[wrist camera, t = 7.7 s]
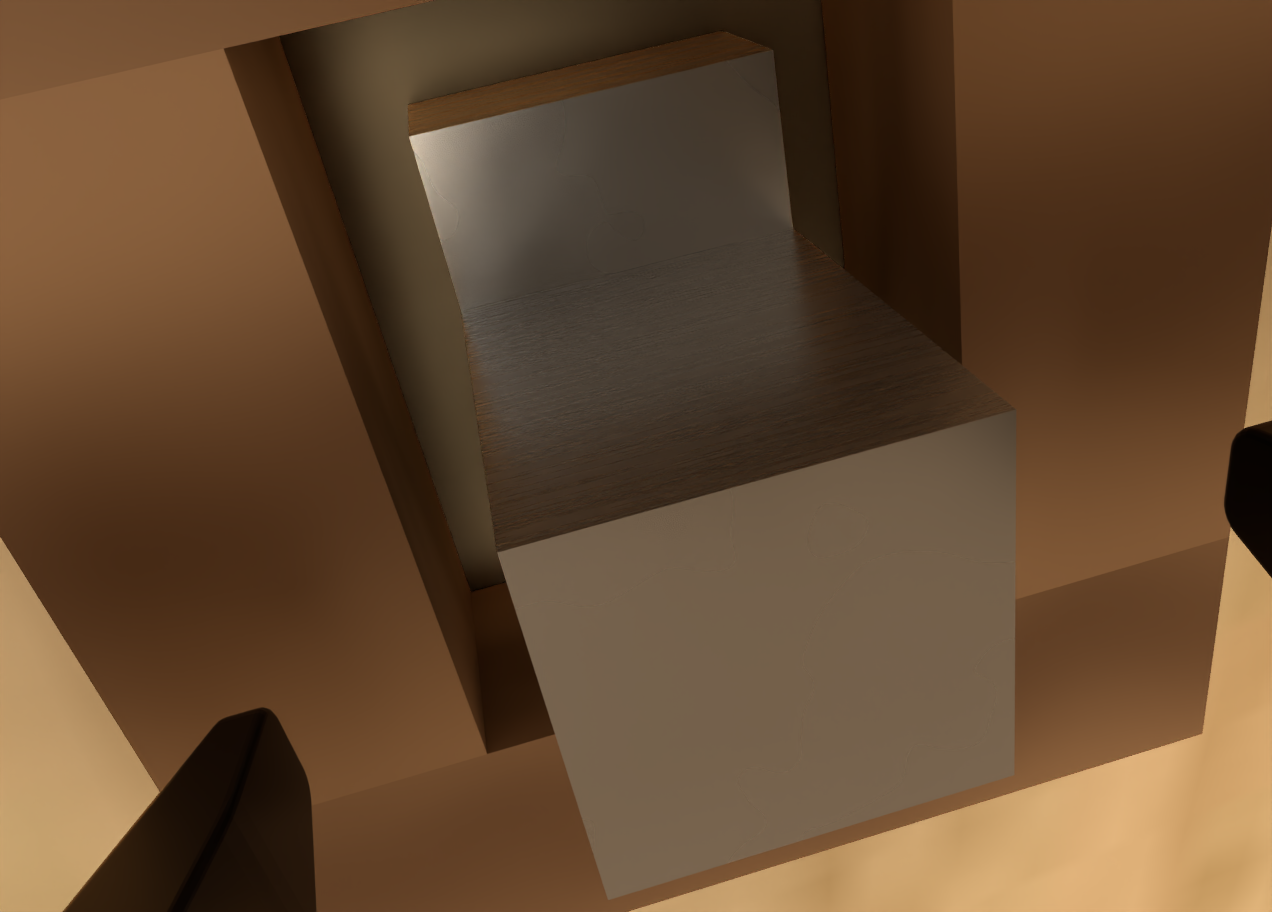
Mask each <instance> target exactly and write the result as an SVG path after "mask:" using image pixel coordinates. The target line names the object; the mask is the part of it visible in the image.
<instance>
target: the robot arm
mask: <svg viewBox="0 0 1272 912" xmlns="http://www.w3.org/2000/svg"><path fill="white" fill-rule="evenodd" d="M1224 510H1225V514H1226V517H1227V520H1228V522H1229V524H1230V526H1231V528H1232V529H1233V531H1234V532H1235V533H1236V534H1237V536H1238V537H1239V538H1240V539H1241V541H1242V542H1243V543H1244V544H1245V546H1246V547H1247V548H1248V549H1249V550H1250V552H1251V553H1252V554H1253V555H1254V557H1255V558H1256V559H1257V560H1258V562H1259V563H1260V564H1261V565H1262V566H1263V568H1264V569H1265V570H1266V571H1267V573H1268V574H1269V575H1270V576H1271V578H1272V421H1268V422H1265V423H1261V424H1258V425H1254V426H1251V427H1247V428H1244V429H1242V430H1241V431H1240V432H1238V433H1237V434H1236V436H1235V437H1234V439H1233V441H1232V444H1231V449H1230V457H1229V464H1228V472H1227V480H1226V487H1225V495H1224ZM63 912H317V908H316V887H315V865H314V844H313V823H312V802H311V792H310V786H309V782H308V778H307V775H306V772H305V770H304V768H303V766H302V764H301V762H300V760H299V758H298V756H297V754H296V752H295V750H294V748H293V746H292V745H291V743H290V741H289V739H288V737H287V735H286V733H285V731H284V729H283V727H282V725H281V723H280V721H279V719H278V718H277V716H276V715H275V714H274V713H273V712H272V711H271V709H268V708H264V707H260V708H256V709H253V710H249V711H246V712H242V713H239V714H235V715H231V716H228V717H225V718H223V719H221V720H220V721H218V722H217V723H216V724H215V725H214V726H213V728H212V729H211V730H210V731H209V732H208V734H207V735H206V736H205V737H204V739H203V740H202V741H201V742H200V744H199V745H198V746H197V747H196V748H195V750H194V751H193V752H192V753H191V755H190V756H189V757H188V758H187V760H186V761H185V762H184V763H183V764H182V766H181V767H180V768H179V769H178V771H177V772H176V773H175V774H174V775H173V777H172V778H171V779H170V780H169V782H168V783H167V784H166V785H165V787H164V788H163V789H162V790H161V791H160V793H159V794H158V795H157V796H156V798H155V799H154V800H153V801H152V803H151V804H150V805H149V806H148V807H147V809H146V810H145V811H144V812H143V814H142V815H141V816H140V817H139V819H138V820H137V821H136V822H135V823H134V825H133V826H132V827H131V828H130V830H129V831H128V832H127V833H126V834H125V836H124V837H123V838H122V839H121V841H120V842H119V843H118V844H117V846H116V847H115V848H114V849H113V850H112V852H111V853H110V854H109V855H108V857H107V858H106V859H105V860H104V862H103V863H102V864H101V865H100V866H99V868H98V869H97V870H96V871H95V873H94V874H93V875H92V876H91V878H90V879H89V880H88V881H87V882H86V884H85V885H84V886H83V887H82V889H81V890H80V891H79V892H78V893H77V895H76V896H75V897H74V898H73V900H72V901H71V902H70V903H69V905H68V906H67V907H66V908H65V909H64V911H63Z"/></svg>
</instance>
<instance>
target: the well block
mask: <svg viewBox="0 0 1272 912" xmlns="http://www.w3.org/2000/svg"><path fill="white" fill-rule="evenodd" d="M430 1H434V0H0V537H1V538H2V540H3V542H4V543H5V545H6V546H7V548H8V550H9V551H10V553H11V554H12V556H13V558H14V559H15V561H16V562H17V564H18V566H19V567H20V569H21V570H22V572H23V574H24V575H25V577H26V578H27V580H28V582H29V583H30V585H31V586H32V588H33V590H34V591H35V593H36V594H37V596H38V598H39V599H40V601H41V602H42V604H43V606H44V607H45V609H46V610H47V612H48V613H49V615H50V617H51V618H52V620H53V621H54V623H55V625H56V626H57V628H58V629H59V631H60V633H61V634H62V636H63V637H64V639H65V641H66V642H67V644H68V645H69V647H70V649H71V650H72V652H73V653H74V655H75V657H76V658H77V660H78V661H79V663H80V665H81V666H82V668H83V669H84V671H85V673H86V674H87V676H88V677H89V679H90V681H91V682H92V684H93V685H94V687H95V689H96V690H97V692H98V693H99V695H100V697H101V698H102V700H103V701H104V703H105V705H106V706H107V708H108V709H109V711H110V713H111V714H112V716H113V717H114V719H115V721H116V722H117V724H118V725H119V727H120V729H121V730H122V732H123V733H124V735H125V737H126V738H127V740H128V741H129V743H130V745H131V746H132V748H133V749H134V751H135V753H136V754H137V756H138V757H139V759H140V761H141V762H142V764H143V765H144V767H145V769H146V770H147V772H148V773H149V775H150V777H151V778H152V780H153V781H154V783H155V785H156V786H157V788H158V789H159V791H161V790H162V789H163V788H164V787H165V785H166V784H167V783H168V782H169V780H170V779H171V778H172V777H173V775H174V774H175V773H176V772H177V771H178V769H179V768H180V767H181V766H182V764H183V763H184V762H185V761H186V760H187V758H188V757H189V756H190V755H191V753H192V752H193V751H194V750H195V748H196V747H197V746H198V745H199V744H200V742H201V741H202V740H203V739H204V737H205V736H206V735H207V734H208V732H209V731H210V730H211V729H212V728H213V726H214V725H215V724H216V723H217V722H218V721H220V720H221V719H223V718H225V717H228V716H231V715H235V714H239V713H242V712H246V711H249V710H253V709H256V708H260V707H264V708H268V709H271V711H272V712H273V713H274V714H275V715H276V716H277V718H278V719H279V721H280V723H281V725H282V727H283V729H284V731H285V733H286V735H287V737H288V739H289V741H290V743H291V745H292V746H293V748H294V750H295V752H296V754H297V756H298V758H299V760H300V762H301V764H302V766H303V768H304V770H305V772H306V775H307V778H308V782H309V786H310V792H311V802H312V823H313V844H314V865H315V887H316V908H317V912H628V911H631V910H634V909H637V908H641V907H644V906H647V905H650V904H653V903H657V902H660V901H663V900H666V899H670V898H673V897H676V896H679V895H683V894H686V893H689V892H692V891H695V890H699V889H702V888H705V887H708V886H712V885H715V884H718V883H721V882H725V881H728V880H731V879H734V878H737V877H741V876H744V875H747V874H750V873H754V872H757V871H760V870H763V869H767V868H770V867H773V866H776V865H779V864H783V863H786V862H789V861H792V860H796V859H799V858H802V857H805V856H809V855H812V854H815V853H818V852H821V851H825V850H828V849H831V848H834V847H838V846H841V845H844V844H847V843H851V842H854V841H857V840H860V839H864V838H867V837H870V836H873V835H876V834H880V833H883V832H886V831H889V830H893V829H896V828H899V827H902V826H906V825H909V824H912V823H915V822H918V821H922V820H925V819H928V818H931V817H935V816H938V815H941V814H944V813H948V812H951V811H954V810H957V809H960V808H964V807H967V806H970V805H973V804H977V803H980V802H983V801H986V800H990V799H993V798H996V797H999V796H1002V795H1006V794H1009V793H1012V792H1015V791H1019V790H1022V789H1025V788H1028V787H1032V786H1035V785H1038V784H1041V783H1044V782H1048V781H1051V780H1054V779H1057V778H1061V777H1064V776H1067V775H1070V774H1074V773H1077V772H1080V771H1083V770H1086V769H1090V768H1093V767H1096V766H1099V765H1103V764H1106V763H1109V762H1112V761H1116V760H1119V759H1122V758H1125V757H1128V756H1132V755H1135V754H1138V753H1141V752H1145V751H1148V750H1151V749H1154V748H1158V747H1161V746H1164V745H1167V744H1170V743H1174V742H1177V741H1180V740H1183V739H1187V738H1190V737H1193V736H1196V735H1200V734H1202V731H1203V724H1204V716H1205V709H1206V702H1207V695H1208V687H1209V680H1210V673H1211V665H1212V658H1213V651H1214V643H1215V636H1216V629H1217V621H1218V614H1219V607H1220V599H1221V592H1222V585H1223V577H1224V570H1225V563H1226V555H1227V548H1228V541H1229V533H1230V524H1229V522H1228V520H1227V517H1226V514H1225V510H1224V495H1225V487H1226V480H1227V472H1228V464H1229V457H1230V449H1231V444H1232V441H1233V439H1234V437H1235V436H1236V434H1237V433H1238V432H1240V431H1241V430H1242V429H1244V424H1245V416H1246V409H1247V402H1248V394H1249V387H1250V380H1251V372H1252V365H1253V358H1254V350H1255V343H1256V336H1257V329H1258V321H1259V314H1260V307H1261V299H1262V292H1263V285H1264V277H1265V270H1266V263H1267V255H1268V248H1269V241H1270V233H1271V226H1272V0H821V1H822V12H823V24H824V35H825V47H826V58H827V70H828V81H829V93H830V104H831V116H832V127H833V138H834V150H835V161H836V173H837V184H838V196H839V207H840V219H841V230H842V242H843V253H844V265H845V270H846V271H847V272H848V273H849V274H850V275H852V276H853V277H854V278H855V279H857V280H858V281H859V282H860V283H862V284H863V285H864V286H865V287H866V288H868V289H869V290H870V291H871V292H873V293H874V294H875V295H876V296H877V297H879V298H880V299H881V300H882V301H884V302H885V303H886V304H887V305H889V306H890V307H891V308H892V309H893V310H895V311H896V312H897V313H898V314H900V315H901V316H902V317H903V318H905V319H906V320H907V321H908V322H909V323H911V324H912V325H913V326H914V327H916V328H917V329H918V330H919V331H920V332H922V333H923V334H924V335H925V336H927V337H928V338H929V339H930V340H932V341H933V342H934V343H935V344H936V345H938V346H939V347H940V348H941V349H943V350H944V351H945V352H946V353H948V354H949V355H950V356H951V357H952V358H954V359H955V360H956V361H957V362H959V363H960V364H961V365H962V366H964V367H965V368H966V369H967V370H968V371H970V372H971V373H972V374H973V375H975V376H976V377H977V378H978V379H979V380H981V381H982V382H983V383H984V384H986V385H987V386H988V387H989V388H991V389H992V390H993V391H994V392H995V393H997V394H998V395H999V396H1000V397H1002V398H1003V399H1004V400H1005V401H1007V402H1008V403H1009V404H1010V405H1011V406H1013V407H1014V408H1015V409H1016V566H1015V752H1014V775H1013V776H1010V777H1007V778H1003V779H1000V780H997V781H994V782H990V783H987V784H984V785H981V786H977V787H974V788H971V789H968V790H964V791H961V792H958V793H955V794H951V795H948V796H945V797H942V798H938V799H935V800H932V801H929V802H925V803H922V804H919V805H916V806H912V807H909V808H906V809H903V810H899V811H896V812H893V813H890V814H887V815H883V816H880V817H877V818H874V819H870V820H867V821H864V822H861V823H857V824H854V825H851V826H848V827H844V828H841V829H838V830H835V831H831V832H828V833H825V834H822V835H818V836H815V837H812V838H809V839H805V840H802V841H799V842H796V843H792V844H789V845H786V846H783V847H779V848H776V849H773V850H770V851H766V852H763V853H760V854H757V855H753V856H750V857H747V858H744V859H740V860H737V861H734V862H731V863H727V864H724V865H721V866H718V867H714V868H711V869H708V870H705V871H701V872H698V873H695V874H692V875H688V876H685V877H682V878H679V879H675V880H672V881H669V882H666V883H662V884H659V885H656V886H653V887H649V888H646V889H643V890H640V891H636V892H633V893H630V894H627V895H624V896H620V897H617V898H614V899H611V900H608V898H607V895H606V892H605V889H604V886H603V883H602V880H601V876H600V873H599V870H598V867H597V864H596V861H595V858H594V855H593V851H592V848H591V845H590V842H589V839H588V836H587V833H586V829H585V826H584V823H583V820H582V817H581V814H580V811H579V808H578V804H577V801H576V798H575V795H574V792H573V789H572V786H571V783H570V779H569V776H568V773H567V770H566V767H565V764H564V761H563V758H562V754H561V751H560V748H559V745H558V742H557V739H556V736H555V733H554V729H553V726H552V723H551V720H550V717H549V714H548V711H547V707H546V704H545V701H544V698H543V695H542V692H541V689H540V686H539V682H538V679H537V676H536V673H535V670H534V667H533V664H532V661H531V657H530V654H529V651H528V648H527V645H526V642H525V639H524V636H523V632H522V629H521V626H520V623H519V620H518V617H517V614H516V610H515V607H514V604H513V601H512V598H511V595H510V592H509V589H508V585H507V582H505V583H502V584H498V585H495V586H491V587H487V588H484V589H480V590H477V591H473V592H471V591H470V588H469V585H468V582H467V579H466V577H465V574H464V571H463V568H462V565H461V562H460V559H459V556H458V553H457V550H456V548H455V545H454V542H453V539H452V536H451V533H450V530H449V527H448V524H447V522H446V519H445V516H444V513H443V510H442V507H441V504H440V501H439V498H438V496H437V493H436V490H435V487H434V484H433V481H432V478H431V475H430V472H429V469H428V467H427V464H426V461H425V458H424V455H423V452H422V449H421V446H420V443H419V441H418V438H417V435H416V432H415V429H414V426H413V423H412V420H411V417H410V414H409V412H408V409H407V406H406V403H405V400H404V397H403V394H402V391H401V388H400V386H399V383H398V380H397V377H396V374H395V371H394V368H393V365H392V362H391V360H390V357H389V354H388V351H387V348H386V345H385V342H384V339H383V336H382V333H381V331H380V328H379V325H378V322H377V319H376V316H375V313H374V310H373V307H372V305H371V302H370V299H369V296H368V293H367V290H366V287H365V284H364V281H363V279H362V276H361V273H360V270H359V267H358V264H357V261H356V258H355V255H354V252H353V250H352V247H351V244H350V241H349V238H348V235H347V232H346V229H345V226H344V224H343V221H342V218H341V215H340V212H339V209H338V206H337V203H336V200H335V197H334V195H333V192H332V189H331V186H330V183H329V180H328V177H327V174H326V171H325V169H324V166H323V163H322V160H321V157H320V154H319V151H318V148H317V145H316V143H315V140H314V137H313V134H312V131H311V128H310V125H309V122H308V119H307V116H306V114H305V111H304V108H303V105H302V102H301V99H300V96H299V93H298V90H297V88H296V85H295V82H294V79H293V76H292V73H291V70H290V67H289V64H288V61H287V59H286V56H285V53H284V50H283V47H282V44H281V41H280V38H279V36H281V35H285V34H290V33H294V32H298V31H303V30H307V29H312V28H316V27H320V26H325V25H329V24H333V23H338V22H342V21H347V20H351V19H355V18H360V17H364V16H368V15H373V14H377V13H382V12H386V11H390V10H395V9H399V8H403V7H408V6H412V5H417V4H421V3H425V2H430Z"/></svg>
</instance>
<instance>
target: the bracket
mask: <svg viewBox="0 0 1272 912" xmlns="http://www.w3.org/2000/svg"><path fill="white" fill-rule="evenodd" d="M408 124H409V138H410V142H411V145H412V148H413V152H414V155H415V159H416V162H417V165H418V169H419V172H420V175H421V179H422V182H423V185H424V189H425V192H426V196H427V199H428V202H429V206H430V209H431V212H432V216H433V219H434V222H435V226H436V229H437V233H438V236H439V239H440V243H441V246H442V249H443V253H444V256H445V259H446V263H447V266H448V270H449V273H450V276H451V280H452V283H453V286H454V290H455V293H456V296H457V300H458V303H459V307H460V310H461V315H462V321H463V328H464V335H465V341H466V348H467V355H468V361H469V368H470V375H471V382H472V388H473V395H474V402H475V408H476V415H477V422H478V429H479V435H480V442H481V449H482V455H483V462H484V469H485V475H486V482H487V489H488V496H489V502H490V509H491V516H492V522H493V529H494V536H495V543H496V549H497V554H498V557H499V560H500V564H501V567H502V570H503V573H504V576H505V579H506V582H507V585H508V589H509V592H510V595H511V598H512V601H513V604H514V607H515V610H516V614H517V617H518V620H519V623H520V626H521V629H522V632H523V636H524V639H525V642H526V645H527V648H528V651H529V654H530V657H531V661H532V664H533V667H534V670H535V673H536V676H537V679H538V682H539V686H540V689H541V692H542V695H543V698H544V701H545V704H546V707H547V711H548V714H549V717H550V720H551V723H552V726H553V729H554V733H555V736H556V739H557V742H558V745H559V748H560V751H561V754H562V758H563V761H564V764H565V767H566V770H567V773H568V776H569V779H570V783H571V786H572V789H573V792H574V795H575V798H576V801H577V804H578V808H579V811H580V814H581V817H582V820H583V823H584V826H585V829H586V833H587V836H588V839H589V842H590V845H591V848H592V851H593V855H594V858H595V861H596V864H597V867H598V870H599V873H600V876H601V880H602V883H603V886H604V889H605V892H606V895H607V898H608V900H611V899H614V898H617V897H620V896H624V895H627V894H630V893H633V892H636V891H640V890H643V889H646V888H649V887H653V886H656V885H659V884H662V883H666V882H669V881H672V880H675V879H679V878H682V877H685V876H688V875H692V874H695V873H698V872H701V871H705V870H708V869H711V868H714V867H718V866H721V865H724V864H727V863H731V862H734V861H737V860H740V859H744V858H747V857H750V856H753V855H757V854H760V853H763V852H766V851H770V850H773V849H776V848H779V847H783V846H786V845H789V844H792V843H796V842H799V841H802V840H805V839H809V838H812V837H815V836H818V835H822V834H825V833H828V832H831V831H835V830H838V829H841V828H844V827H848V826H851V825H854V824H857V823H861V822H864V821H867V820H870V819H874V818H877V817H880V816H883V815H887V814H890V813H893V812H896V811H899V810H903V809H906V808H909V807H912V806H916V805H919V804H922V803H925V802H929V801H932V800H935V799H938V798H942V797H945V796H948V795H951V794H955V793H958V792H961V791H964V790H968V789H971V788H974V787H977V786H981V785H984V784H987V783H990V782H994V781H997V780H1000V779H1003V778H1007V777H1010V776H1013V775H1014V752H1015V566H1016V409H1015V408H1014V407H1013V406H1011V405H1010V404H1009V403H1008V402H1007V401H1005V400H1004V399H1003V398H1002V397H1000V396H999V395H998V394H997V393H995V392H994V391H993V390H992V389H991V388H989V387H988V386H987V385H986V384H984V383H983V382H982V381H981V380H979V379H978V378H977V377H976V376H975V375H973V374H972V373H971V372H970V371H968V370H967V369H966V368H965V367H964V366H962V365H961V364H960V363H959V362H957V361H956V360H955V359H954V358H952V357H951V356H950V355H949V354H948V353H946V352H945V351H944V350H943V349H941V348H940V347H939V346H938V345H936V344H935V343H934V342H933V341H932V340H930V339H929V338H928V337H927V336H925V335H924V334H923V333H922V332H920V331H919V330H918V329H917V328H916V327H914V326H913V325H912V324H911V323H909V322H908V321H907V320H906V319H905V318H903V317H902V316H901V315H900V314H898V313H897V312H896V311H895V310H893V309H892V308H891V307H890V306H889V305H887V304H886V303H885V302H884V301H882V300H881V299H880V298H879V297H877V296H876V295H875V294H874V293H873V292H871V291H870V290H869V289H868V288H866V287H865V286H864V285H863V284H862V283H860V282H859V281H858V280H857V279H855V278H854V277H853V276H852V275H850V274H849V273H848V272H847V271H846V270H844V269H843V268H842V267H841V266H839V265H838V264H837V263H836V262H834V261H833V260H832V259H831V258H830V257H828V256H827V255H826V254H825V253H823V252H822V251H821V250H820V249H819V248H817V247H816V246H815V245H814V244H812V243H811V242H810V241H809V240H807V239H806V238H805V237H804V236H803V235H801V234H800V233H799V232H798V231H796V230H795V229H794V228H793V224H792V215H791V206H790V197H789V188H788V179H787V170H786V161H785V152H784V143H783V135H782V126H781V117H780V108H779V99H778V90H777V81H776V72H775V63H774V54H773V50H772V49H770V48H767V47H765V46H762V45H759V44H757V43H754V42H751V41H749V40H746V39H743V38H741V37H738V36H736V35H733V34H730V33H728V32H725V31H717V32H713V33H709V34H705V35H700V36H696V37H692V38H688V39H684V40H679V41H675V42H671V43H667V44H662V45H658V46H654V47H650V48H645V49H641V50H637V51H633V52H628V53H624V54H620V55H616V56H611V57H607V58H603V59H599V60H594V61H590V62H586V63H582V64H578V65H573V66H569V67H565V68H561V69H556V70H552V71H548V72H544V73H539V74H535V75H531V76H527V77H522V78H518V79H514V80H510V81H505V82H501V83H497V84H493V85H488V86H484V87H480V88H476V89H472V90H467V91H463V92H459V93H455V94H450V95H446V96H442V97H438V98H433V99H429V100H425V101H421V102H416V103H412V104H408Z"/></svg>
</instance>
